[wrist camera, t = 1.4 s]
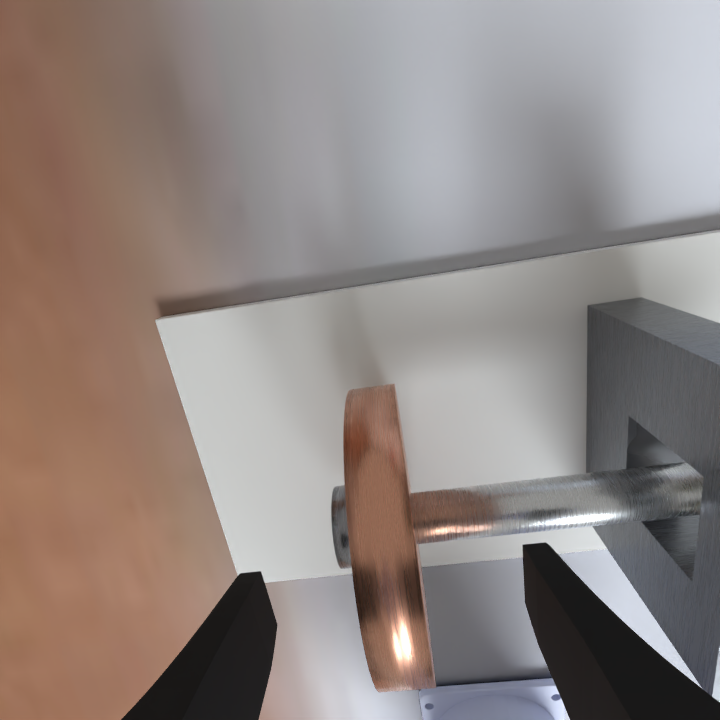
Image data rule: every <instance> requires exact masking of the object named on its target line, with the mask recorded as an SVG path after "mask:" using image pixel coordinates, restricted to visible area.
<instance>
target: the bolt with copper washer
mask: <svg viewBox="0 0 720 720" xmlns="http://www.w3.org/2000/svg"><path fill="white" fill-rule="evenodd" d="M343 451H344V482H345V485H342V486H335V487H334V489H333V492H332V501H331V522H332V535H333V543H334V549H335V554H336V559H337V562H338V565H339V567H340V568H341V569H347V568H352V574H353V582H354V590H355V597H356V604H357V611H358V617H359V623H360V629H361V635H362V640H363V645H364V650H365V655H366V659H367V663H368V667H369V671H370V674H371V677H372V681H373V683H374V685H375V688H376V689H377V691H378V692H390V691H403V690H417V689H430V688H436V683H435V673H434V664H433V655H432V646H431V638H430V630H429V622H428V614H427V606H426V599H425V591H424V583H423V576H422V568H421V560H420V553H419V546H418V544H425V543H434V542H444V541H454V540H464V539H473V538H483V537H493V536H502V535H512V534H522V533H532V532H541V531H551V530H561V529H570V528H580V527H590V526H599V525H609V524H619V523H629V522H638V521H648V520H658V519H667V518H677V517H687V516H697V515H700V507H701V498H702V489H703V480H704V476H702V475H701V474H700V473H699V472H697V471H696V470H695V469H694V468H692V467H691V466H690V465H689V464H688V463H686V462H680V463H671V464H662V465H653V466H645V467H636V468H627V469H618V470H609V471H600V472H592V473H583V474H574V475H565V476H556V477H548V478H539V479H530V480H521V481H512V482H503V483H495V484H486V485H477V486H468V487H459V488H451V489H442V490H433V491H424V492H415V493H411V487H410V480H409V473H408V466H407V459H406V452H405V446H404V439H403V432H402V425H401V419H400V412H399V406H398V400H397V394H396V388H395V384H387V385H380V386H373V387H365V388H358V389H351V390H349V391H348V394H347V397H346V402H345V410H344V432H343Z"/></svg>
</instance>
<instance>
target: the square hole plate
mask: <svg viewBox="0 0 720 720" xmlns="http://www.w3.org/2000/svg"><path fill="white" fill-rule="evenodd" d="M680 462H686V463H688V464H689V465H690V466H691V467H692V468H694V469H695V470H696V471H697V472H699V473H700V474H701V475H702V476H704V480H703V489H702V498H701V507H700V515H697V516H687V517H677V518H667V519H658V520H648V521H638V522H629V523H619V524H609V525H599V526H592V527H593V528H594V530H595V531H596V533H597V534H598V536H599V537H600V539H601V540H602V542H603V543H604V545H605V546H606V547H607V549H608V550H609V552H610V553H611V555H612V556H613V558H614V559H615V561H616V562H617V564H618V565H619V567H620V568H621V570H622V571H623V572H624V574H625V575H626V577H627V578H628V580H629V581H630V583H631V584H632V586H633V587H634V589H635V590H636V592H637V593H638V595H639V596H640V597H641V599H642V600H643V602H644V603H645V605H646V606H647V608H648V609H649V611H650V612H651V614H652V615H653V617H654V618H655V620H656V621H657V622H658V624H659V625H660V627H661V628H662V630H663V631H664V633H665V634H666V636H667V637H668V639H669V640H670V642H671V643H672V644H673V646H674V647H675V649H676V650H677V652H678V653H679V655H680V656H681V658H682V659H683V661H684V662H685V664H686V665H687V667H688V668H689V669H690V671H691V672H692V674H693V675H694V677H695V678H696V680H697V681H698V683H699V684H700V686H701V687H702V689H703V690H704V691H706V692H707V693H708V694H710V695H711V696H712V697H713V698H715V699H716V700H717V701H720V323H718V322H715V321H712V320H709V319H706V318H703V317H700V316H697V315H693V314H690V313H687V312H684V311H681V310H678V309H675V308H672V307H669V306H666V305H663V304H660V303H657V302H654V301H651V300H648V299H645V298H642V297H640V298H633V299H626V300H619V301H612V302H606V303H599V304H592V305H587V419H586V473H592V472H600V471H609V470H618V469H627V468H636V467H645V466H653V465H662V464H671V463H680Z"/></svg>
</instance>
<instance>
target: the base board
mask: <svg viewBox="0 0 720 720" xmlns="http://www.w3.org/2000/svg"><path fill="white" fill-rule="evenodd" d="M640 297H642V298H645V299H648V300H651V301H654V302H657V303H660V304H663V305H666V306H669V307H672V308H675V309H678V310H681V311H684V312H687V313H690V314H693V315H697V316H700V317H703V318H706V319H709V320H712V321H715V322H718V323H720V229H719V230H713V231H706V232H700V233H694V234H687V235H681V236H675V237H668V238H662V239H655V240H649V241H643V242H636V243H630V244H623V245H617V246H611V247H604V248H598V249H592V250H585V251H579V252H572V253H566V254H560V255H553V256H547V257H540V258H534V259H528V260H521V261H515V262H509V263H502V264H496V265H489V266H483V267H477V268H470V269H464V270H457V271H451V272H445V273H438V274H432V275H426V276H419V277H413V278H406V279H400V280H394V281H387V282H381V283H374V284H368V285H362V286H355V287H349V288H343V289H336V290H330V291H323V292H317V293H311V294H304V295H298V296H291V297H285V298H279V299H272V300H266V301H259V302H253V303H247V304H240V305H234V306H228V307H221V308H215V309H208V310H202V311H196V312H189V313H183V314H176V315H170V316H164V317H161V318H159V319H157V320H155V321H156V324H157V328H158V331H159V334H160V337H161V340H162V343H163V346H164V349H165V352H166V355H167V358H168V362H169V365H170V368H171V371H172V374H173V377H174V380H175V383H176V386H177V389H178V392H179V395H180V399H181V402H182V405H183V408H184V411H185V414H186V417H187V420H188V423H189V426H190V429H191V433H192V436H193V439H194V442H195V445H196V448H197V451H198V454H199V457H200V460H201V463H202V466H203V470H204V473H205V476H206V479H207V482H208V485H209V488H210V491H211V494H212V497H213V500H214V504H215V507H216V510H217V513H218V516H219V519H220V522H221V525H222V528H223V531H224V534H225V538H226V541H227V544H228V547H229V550H230V553H231V556H232V559H233V562H234V565H235V568H236V571H237V575H239V574H240V573H247V572H257V571H261V573H262V576H263V579H264V583H268V582H278V581H288V580H298V579H308V578H319V577H329V576H339V575H349V574H352V568H347V569H341V568H340V567H339V565H338V562H337V559H336V554H335V549H334V543H333V535H332V522H331V501H332V492H333V489H334V487H335V486H342V485H345V482H344V451H343V432H344V410H345V402H346V397H347V394H348V391H349V390H351V389H358V388H365V387H373V386H380V385H387V384H395V388H396V394H397V400H398V406H399V412H400V419H401V425H402V432H403V439H404V446H405V452H406V459H407V466H408V473H409V480H410V487H411V493H415V492H424V491H433V490H442V489H451V488H459V487H468V486H477V485H486V484H495V483H503V482H512V481H521V480H530V479H539V478H548V477H556V476H565V475H574V474H583V473H586V419H587V305H592V304H599V303H606V302H612V301H619V300H626V299H633V298H640ZM544 542H546V543H547V544H549V545H550V546H551V547H552V548H553V549H554V551H555V552H556V553H557V554H563V553H573V552H583V551H593V550H604V549H607V547H606V546H605V545H604V543H603V542H602V540H601V539H600V537H599V536H598V534H597V533H596V531H595V530H594V528H593V527H592V526H590V527H580V528H570V529H561V530H551V531H541V532H532V533H522V534H512V535H502V536H493V537H483V538H473V539H464V540H454V541H444V542H434V543H425V544H418V546H419V553H420V560H421V567H431V566H441V565H451V564H461V563H471V562H481V561H492V560H502V559H512V558H522V557H523V547H522V545H524V544H534V543H544Z"/></svg>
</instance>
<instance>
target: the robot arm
mask: <svg viewBox="0 0 720 720" xmlns="http://www.w3.org/2000/svg"><path fill="white" fill-rule="evenodd" d="M522 547H523V568H524V588H525V604H526V607H527V610H528V613H529V617H530V620H531V623H532V626H533V629H534V633H535V636H536V639H537V642H538V645H539V647H540V650H541V652H542V654H543V657H544V659H545V662H546V664H547V666H548V669H549V671H550V673H551V676H552V678H547V679H534V680H520V681H507V682H493V683H480V684H466V685H453V686H439V687H436V688H430V689H421V690H420V692H419V701H420V707H421V713H422V718H423V720H565V709H566V711H567V713H568V716H569V718H570V720H720V702H719V701H717V700H716V699H715V698H713V697H712V696H711V695H710V694H708V693H707V692H706V691H704V690H703V689H702V688H700V687H699V686H698V685H697V684H695V683H694V682H693V681H692V680H690V679H689V678H688V677H687V676H685V675H684V674H683V673H682V672H680V671H679V670H678V669H677V668H675V667H674V666H673V665H672V664H671V663H669V662H668V661H667V660H666V659H665V658H663V657H662V656H661V655H660V654H659V653H658V652H656V651H655V650H654V649H653V648H652V647H651V646H650V645H648V644H647V643H646V642H645V641H644V640H643V639H642V638H641V637H640V636H638V635H637V634H636V633H635V632H634V631H633V630H632V629H631V628H630V627H628V626H627V625H626V624H625V623H624V622H623V621H622V620H621V619H620V618H619V617H618V616H617V615H616V614H615V613H614V612H613V611H612V610H611V609H610V608H609V607H608V606H607V605H606V604H605V603H604V602H602V601H601V600H600V599H599V598H598V597H597V596H596V595H595V594H594V593H593V592H592V591H591V590H590V589H589V587H588V586H587V585H586V584H585V583H584V582H583V581H582V580H581V579H580V578H579V577H578V576H577V575H576V574H575V573H574V572H573V571H572V570H571V568H570V567H569V566H568V565H567V564H566V563H565V562H564V561H563V560H562V559H561V557H560V556H559V555H558V554H557V553H556V552H555V551H554V549H553V548H552V547H551V546H550V545H549V544H547V543H546V542H544V543H534V544H524V545H522ZM276 631H277V622H276V619H275V616H274V612H273V609H272V606H271V602H270V599H269V596H268V593H267V589H266V586H265V583H264V579H263V576H262V573H261V571H257V572H247V573H240V574H239V575H238V577H237V578H236V579H235V581H234V582H233V583H232V585H231V586H230V587H229V589H228V590H227V591H226V593H225V594H224V595H223V597H222V598H221V600H220V601H219V602H218V604H217V605H216V606H215V608H214V609H213V610H212V612H211V613H210V614H209V616H208V617H207V618H206V620H205V621H204V622H203V624H202V625H201V626H200V628H199V629H198V630H197V632H196V633H195V634H194V635H193V637H192V638H191V639H190V641H189V642H188V643H187V645H186V646H185V647H184V648H183V650H182V651H181V652H180V653H179V654H178V656H177V657H176V658H175V659H174V661H173V662H172V663H171V664H170V665H169V667H168V668H167V669H166V670H165V671H164V673H163V674H162V675H161V676H160V677H159V679H158V680H157V681H156V682H155V683H154V684H153V686H152V687H151V688H150V689H149V690H148V691H147V692H146V694H145V695H144V696H143V697H142V698H141V699H140V700H139V701H138V702H137V703H136V705H135V706H134V707H133V708H132V709H131V710H130V711H129V712H128V713H127V714H126V715H125V716H124V717H123V718H122V719H121V720H258V719H259V715H260V711H261V707H262V703H263V699H264V695H265V691H266V687H267V683H268V679H269V675H270V671H271V666H272V660H273V653H274V647H275V639H276Z"/></svg>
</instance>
